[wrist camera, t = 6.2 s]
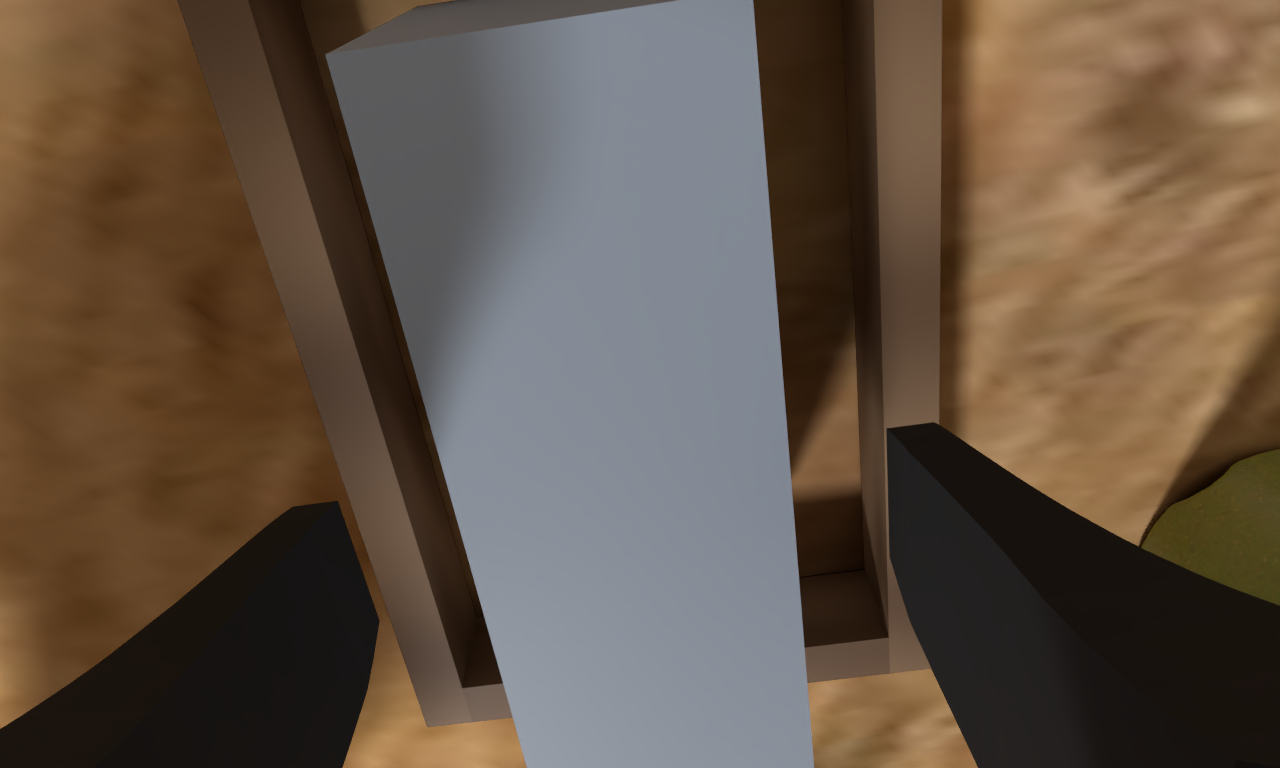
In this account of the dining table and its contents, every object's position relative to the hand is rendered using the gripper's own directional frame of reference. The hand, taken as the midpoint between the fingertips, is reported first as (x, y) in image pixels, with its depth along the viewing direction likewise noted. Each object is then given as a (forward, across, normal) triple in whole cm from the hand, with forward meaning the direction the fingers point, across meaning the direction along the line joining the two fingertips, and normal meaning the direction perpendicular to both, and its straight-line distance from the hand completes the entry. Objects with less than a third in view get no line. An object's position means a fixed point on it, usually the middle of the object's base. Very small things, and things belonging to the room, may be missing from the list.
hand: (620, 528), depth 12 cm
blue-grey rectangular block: (+5, 0, 0) cm, 5 cm away
